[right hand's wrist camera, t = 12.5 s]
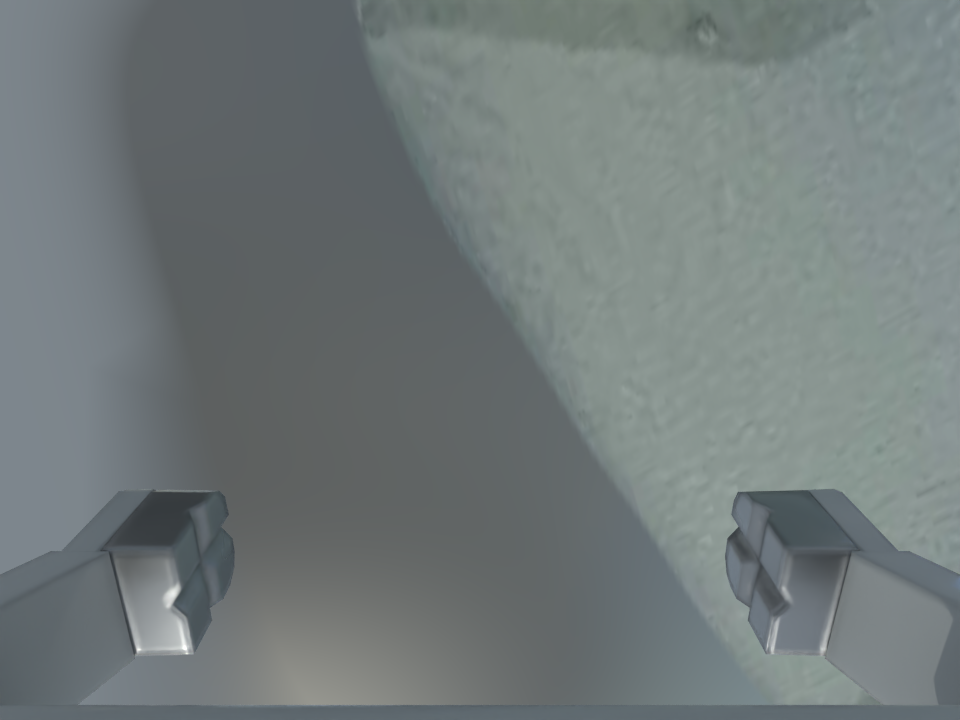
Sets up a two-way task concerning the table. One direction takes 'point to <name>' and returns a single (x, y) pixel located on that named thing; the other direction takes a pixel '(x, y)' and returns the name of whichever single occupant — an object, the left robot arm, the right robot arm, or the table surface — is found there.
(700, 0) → the table surface
